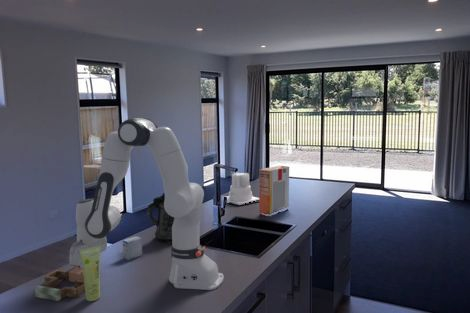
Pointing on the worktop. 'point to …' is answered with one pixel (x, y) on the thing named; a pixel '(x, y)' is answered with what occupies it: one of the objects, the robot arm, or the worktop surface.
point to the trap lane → (54, 279)
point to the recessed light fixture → (240, 189)
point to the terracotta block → (75, 274)
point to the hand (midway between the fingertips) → (89, 267)
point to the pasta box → (274, 189)
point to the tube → (91, 272)
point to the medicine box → (132, 248)
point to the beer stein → (161, 221)
